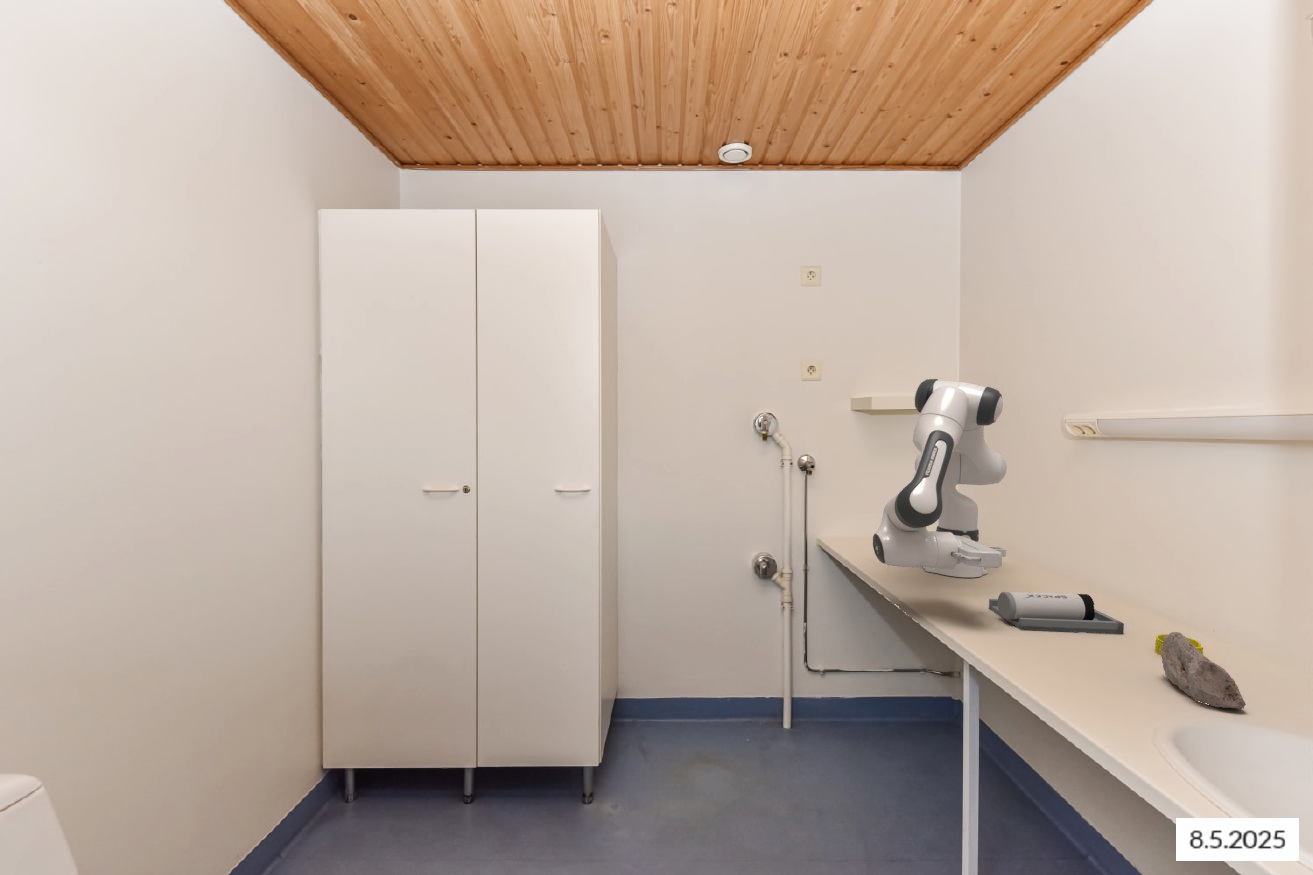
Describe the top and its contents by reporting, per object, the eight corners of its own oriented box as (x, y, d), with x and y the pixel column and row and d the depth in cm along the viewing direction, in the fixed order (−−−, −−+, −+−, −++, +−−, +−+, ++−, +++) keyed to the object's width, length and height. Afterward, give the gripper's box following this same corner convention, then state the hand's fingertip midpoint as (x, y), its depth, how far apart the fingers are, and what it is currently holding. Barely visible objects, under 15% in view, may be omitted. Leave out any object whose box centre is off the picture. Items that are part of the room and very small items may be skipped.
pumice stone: (1251, 716, 99) (1253, 656, 98) (1194, 709, 101) (1196, 649, 101) (1201, 679, 113) (1203, 626, 113) (1152, 673, 115) (1154, 621, 115)
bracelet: (1159, 659, 123) (1159, 642, 123) (1151, 646, 130) (1152, 631, 130) (1207, 666, 119) (1207, 650, 119) (1196, 653, 126) (1197, 637, 126)
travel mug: (997, 617, 146) (1082, 619, 146) (1012, 620, 140) (1101, 623, 139) (995, 590, 147) (1080, 592, 147) (1010, 593, 141) (1098, 595, 140)
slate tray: (988, 608, 154) (989, 598, 154) (1079, 612, 153) (1080, 602, 153) (1021, 630, 139) (1021, 619, 138) (1123, 634, 137) (1123, 623, 137)
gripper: (962, 545, 137) (1026, 547, 136) (928, 530, 157) (984, 531, 156) (961, 573, 137) (1025, 575, 136) (928, 554, 157) (983, 556, 156)
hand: (1003, 551), depth 146 cm, fingers closed
